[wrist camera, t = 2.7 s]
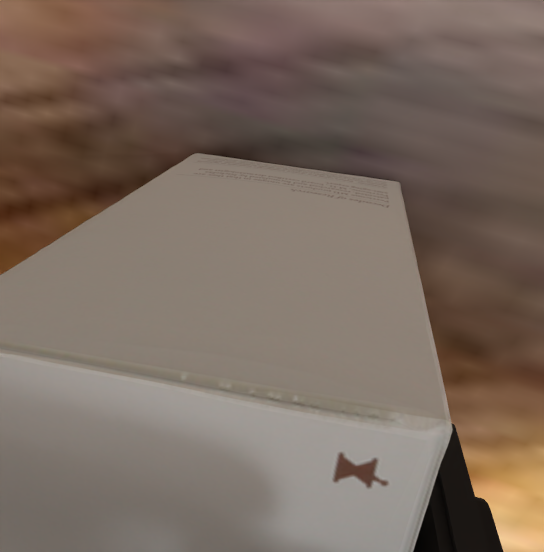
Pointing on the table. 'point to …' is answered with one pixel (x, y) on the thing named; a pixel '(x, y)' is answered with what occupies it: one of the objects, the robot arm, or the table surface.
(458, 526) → the robot arm
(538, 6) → the table surface
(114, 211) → the supplement box
